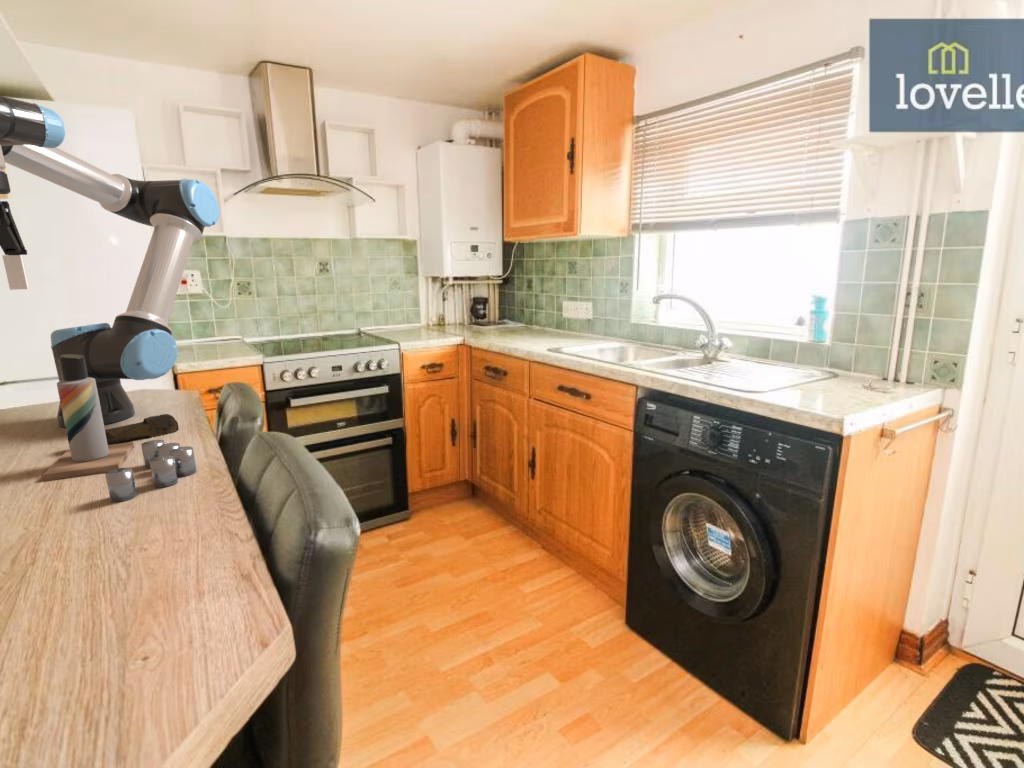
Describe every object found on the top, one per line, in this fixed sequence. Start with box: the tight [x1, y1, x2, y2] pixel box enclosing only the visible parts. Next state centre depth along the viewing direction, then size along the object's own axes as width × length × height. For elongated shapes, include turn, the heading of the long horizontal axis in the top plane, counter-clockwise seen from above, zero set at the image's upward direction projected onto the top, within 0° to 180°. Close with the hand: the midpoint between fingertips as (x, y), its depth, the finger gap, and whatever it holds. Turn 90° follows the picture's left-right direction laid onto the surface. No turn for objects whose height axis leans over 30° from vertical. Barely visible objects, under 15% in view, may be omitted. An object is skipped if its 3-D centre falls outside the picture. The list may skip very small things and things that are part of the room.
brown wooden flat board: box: [42, 441, 135, 482], centre depth 104 cm, size 14×11×1 cm
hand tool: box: [105, 413, 180, 445], centre depth 117 cm, size 19×4×5 cm, turn 131°
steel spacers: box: [104, 439, 197, 503], centre depth 97 cm, size 18×12×4 cm, turn 24°
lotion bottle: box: [56, 354, 109, 462], centre depth 102 cm, size 6×6×20 cm
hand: (5, 291), depth 100 cm, fingers open, 13 cm apart
